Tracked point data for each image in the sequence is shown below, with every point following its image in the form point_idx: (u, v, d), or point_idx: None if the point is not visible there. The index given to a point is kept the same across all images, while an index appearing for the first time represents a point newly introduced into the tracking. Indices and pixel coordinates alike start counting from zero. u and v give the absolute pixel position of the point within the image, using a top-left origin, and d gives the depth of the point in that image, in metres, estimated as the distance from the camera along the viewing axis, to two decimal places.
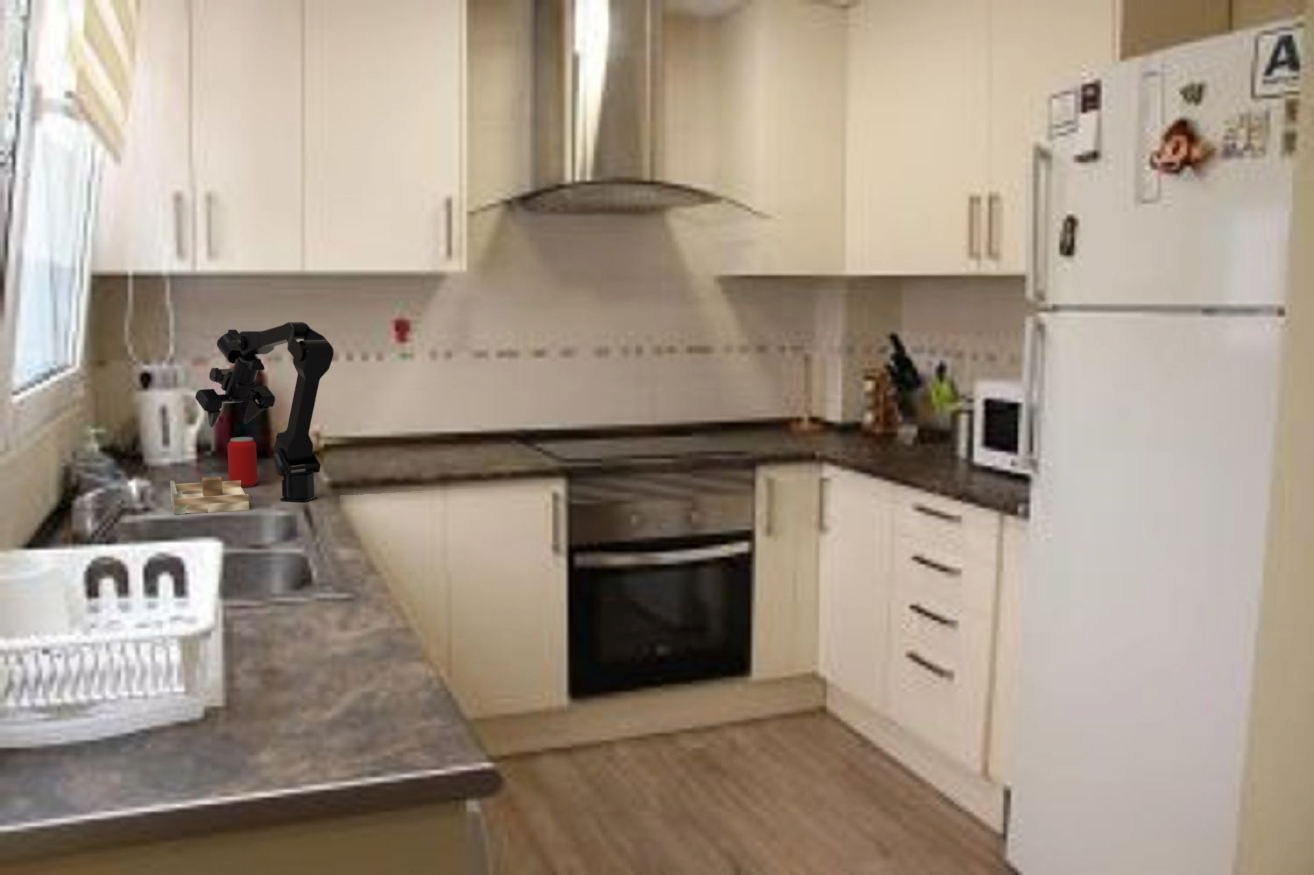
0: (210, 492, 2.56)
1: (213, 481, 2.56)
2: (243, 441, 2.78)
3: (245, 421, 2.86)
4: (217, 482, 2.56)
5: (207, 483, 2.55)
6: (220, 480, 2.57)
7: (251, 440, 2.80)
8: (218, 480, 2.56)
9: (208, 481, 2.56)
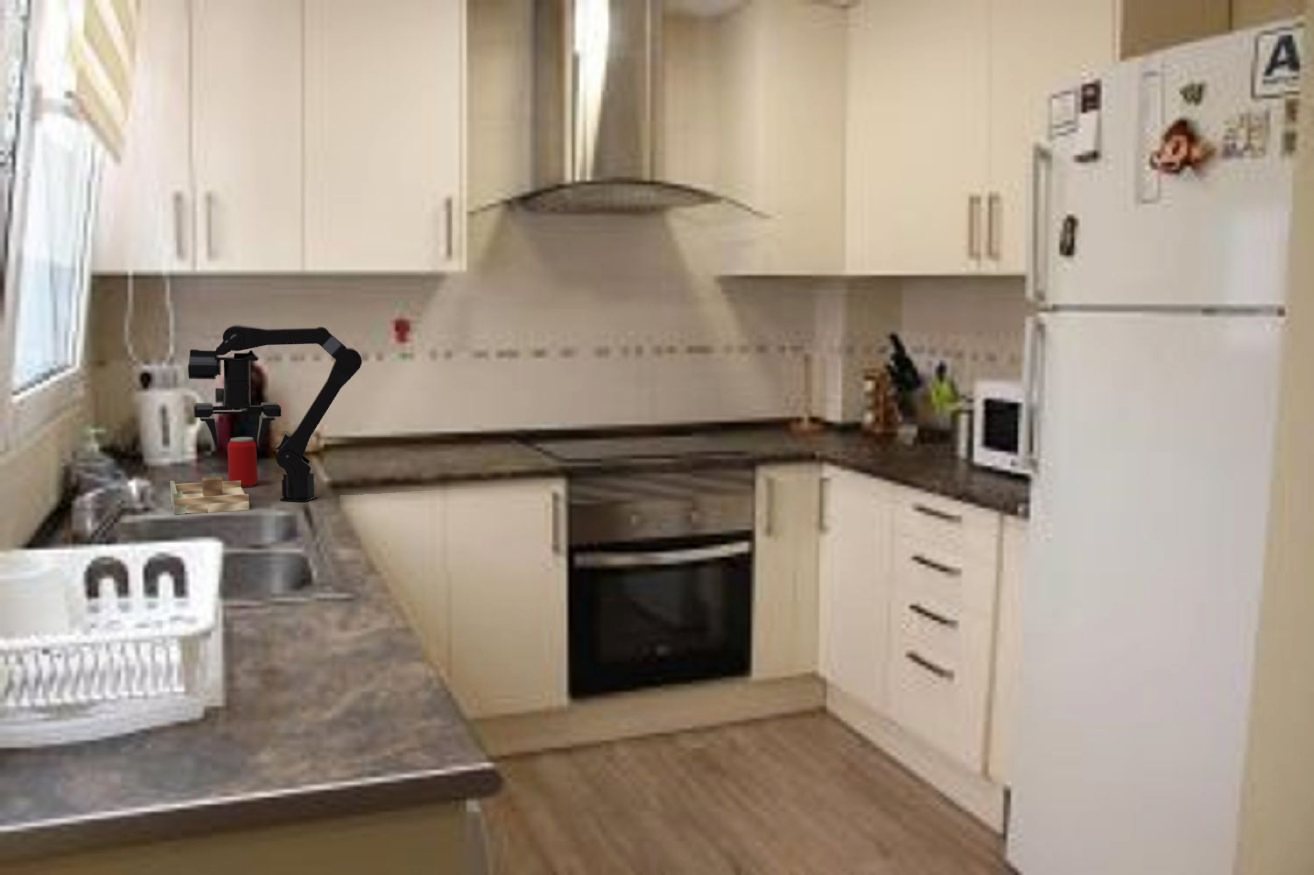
0: (210, 492, 2.56)
1: (213, 481, 2.56)
2: (243, 441, 2.78)
3: None
4: (217, 482, 2.56)
5: (207, 483, 2.55)
6: (220, 480, 2.57)
7: (251, 440, 2.80)
8: (218, 480, 2.56)
9: (208, 481, 2.56)
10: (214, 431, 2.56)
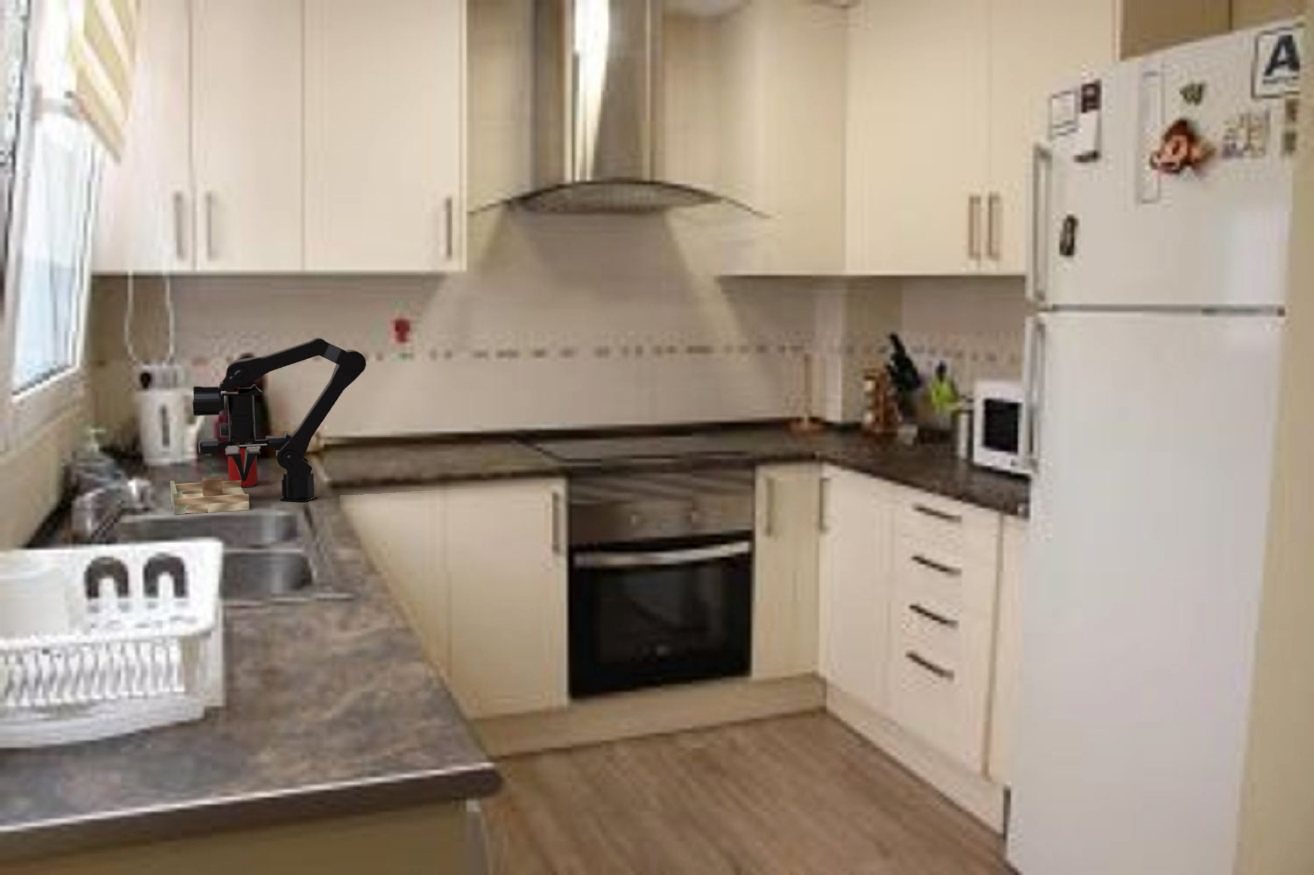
0: (210, 492, 2.56)
1: (213, 481, 2.56)
2: None
3: None
4: (217, 482, 2.56)
5: (207, 483, 2.55)
6: (220, 480, 2.57)
7: None
8: (218, 480, 2.56)
9: (208, 481, 2.56)
10: (240, 466, 2.58)
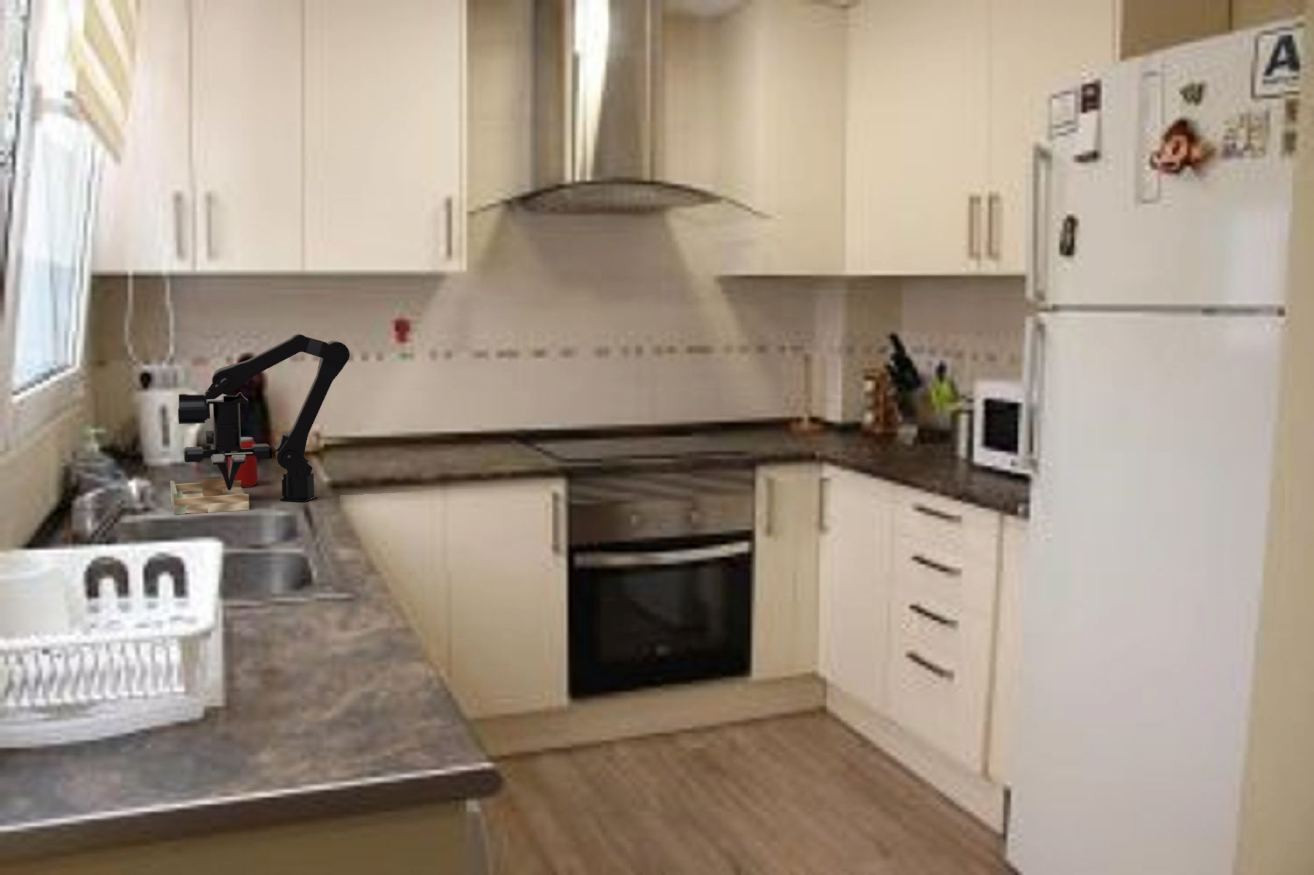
0: (210, 492, 2.56)
1: (213, 481, 2.56)
2: (243, 441, 2.78)
3: None
4: (217, 482, 2.56)
5: (207, 483, 2.55)
6: (220, 480, 2.57)
7: (251, 440, 2.80)
8: (218, 480, 2.56)
9: (207, 481, 2.55)
10: (226, 474, 2.57)
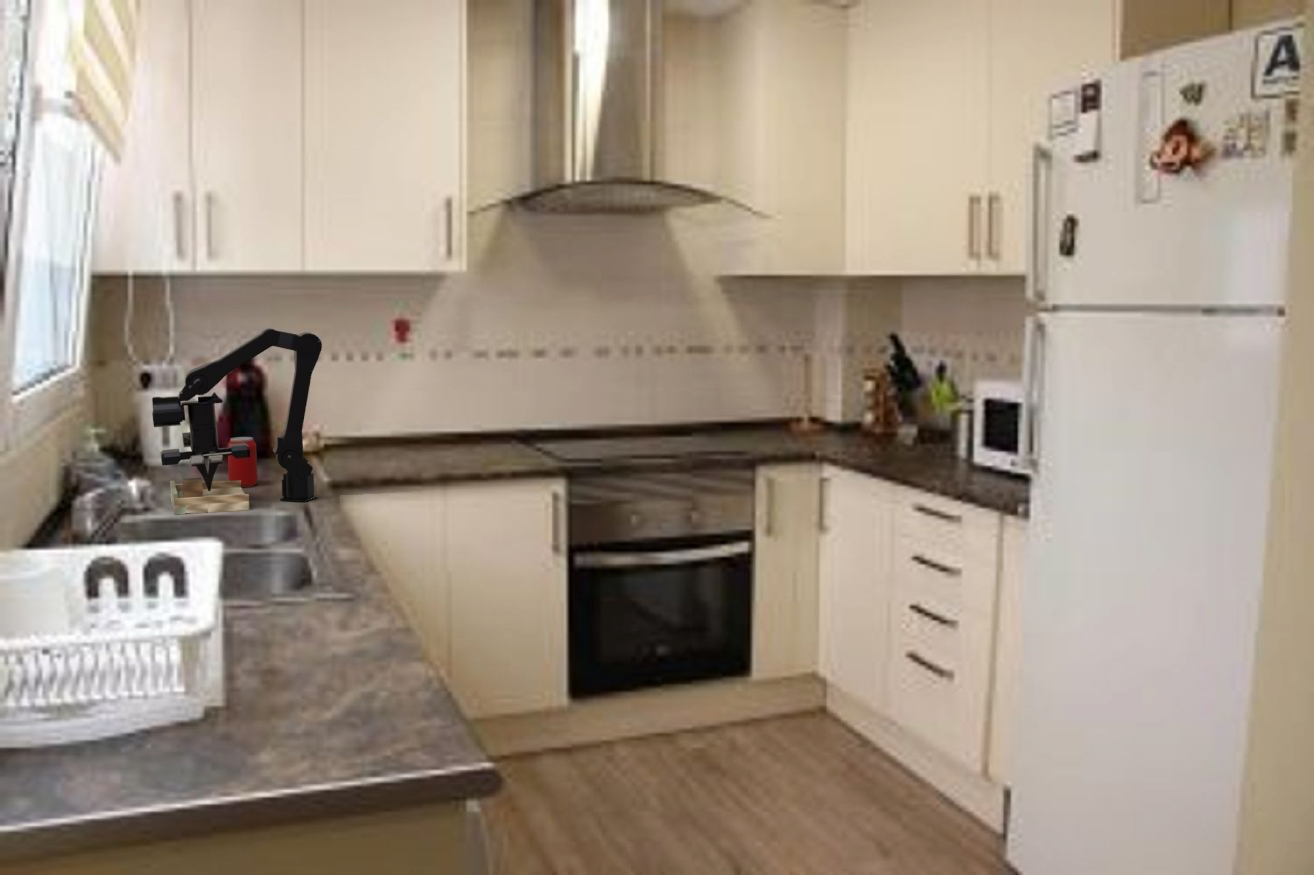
0: (190, 493, 2.54)
1: (193, 482, 2.54)
2: (243, 441, 2.78)
3: (207, 487, 2.57)
4: (197, 483, 2.55)
5: (187, 484, 2.54)
6: (200, 481, 2.55)
7: (251, 440, 2.80)
8: (198, 481, 2.55)
9: (188, 482, 2.54)
10: (206, 475, 2.55)
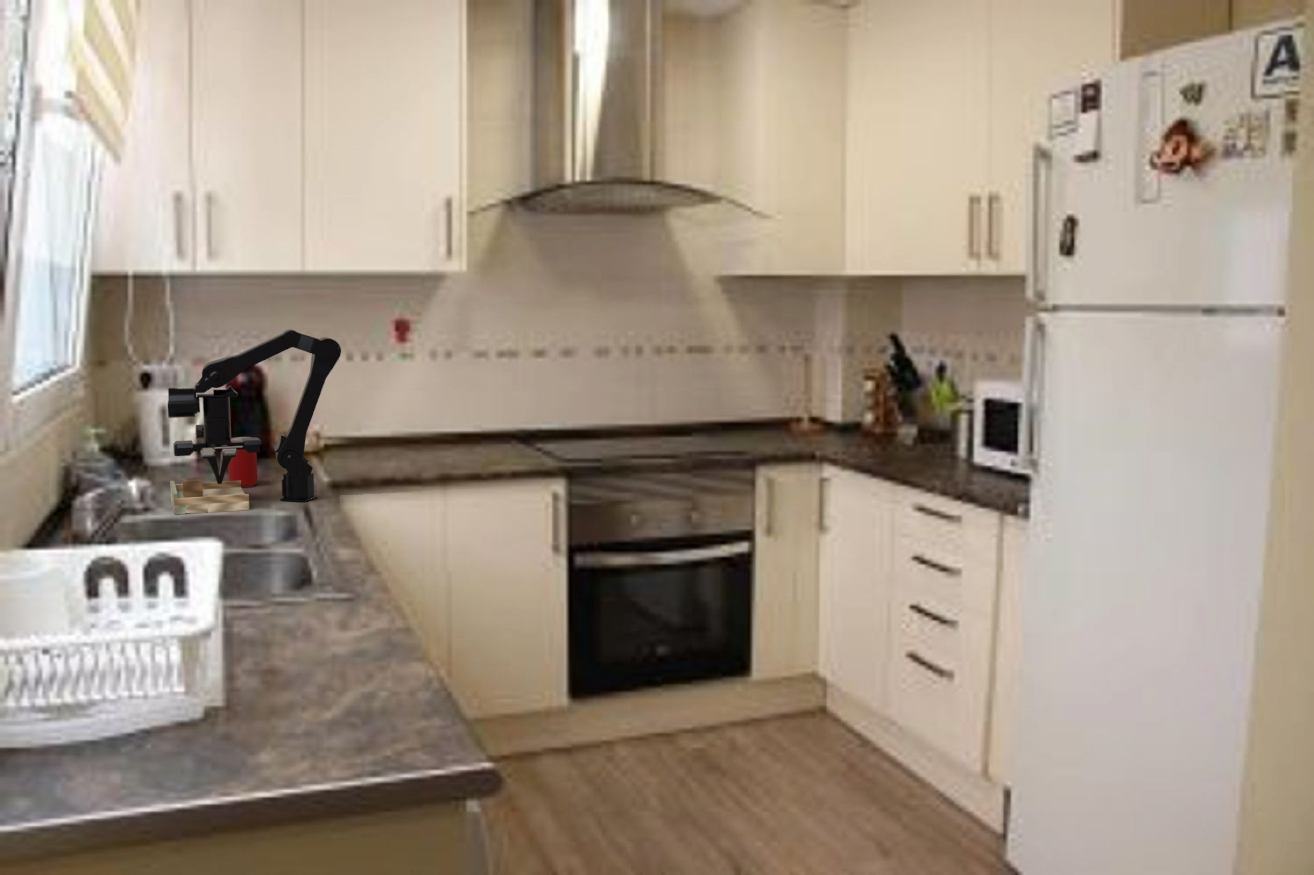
0: (190, 493, 2.54)
1: (193, 482, 2.54)
2: None
3: None
4: (197, 483, 2.55)
5: (187, 484, 2.54)
6: (200, 481, 2.55)
7: None
8: (198, 481, 2.55)
9: (188, 482, 2.54)
10: (216, 468, 2.56)
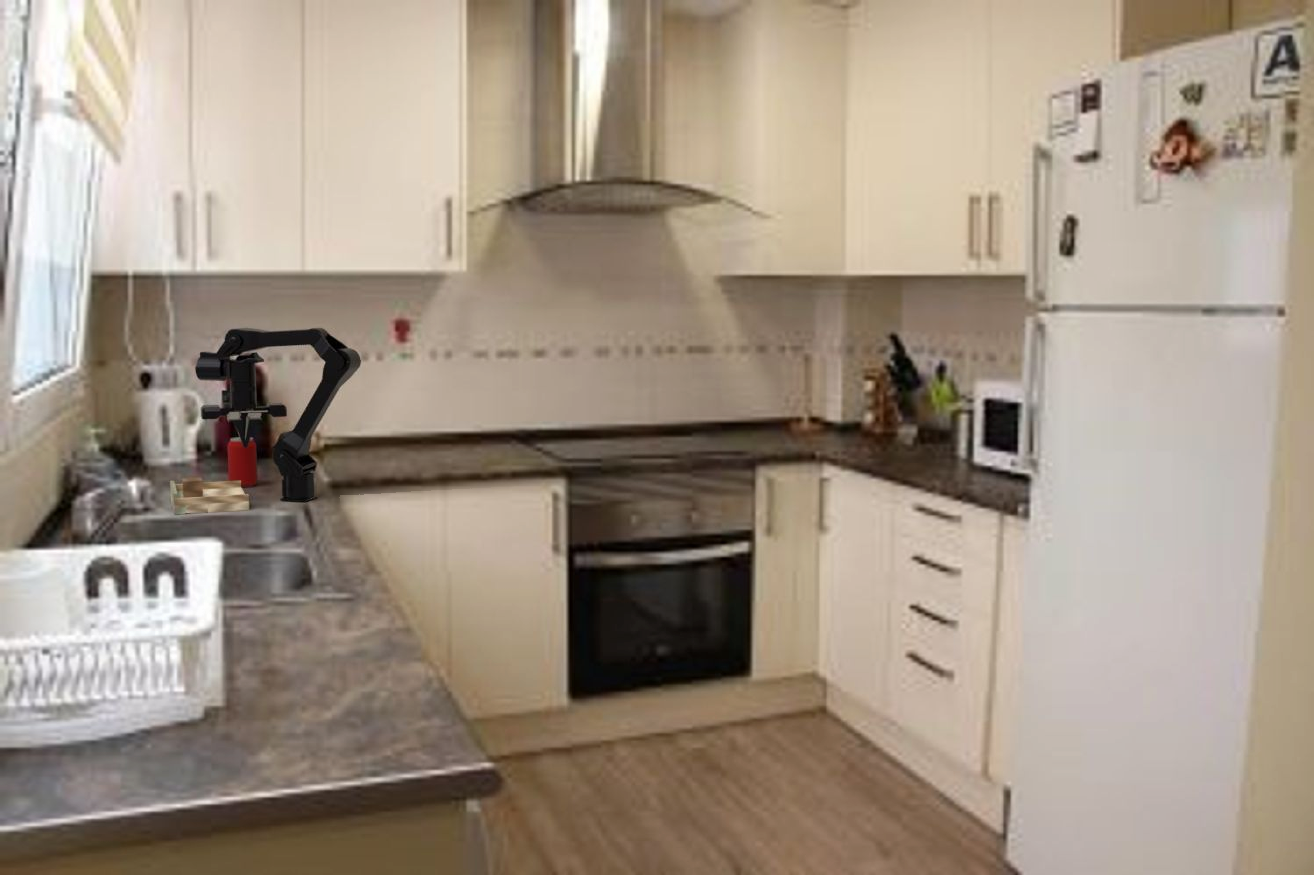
0: (190, 493, 2.54)
1: (193, 482, 2.54)
2: None
3: None
4: (197, 483, 2.55)
5: (187, 484, 2.54)
6: (200, 481, 2.55)
7: (251, 440, 2.80)
8: (198, 481, 2.55)
9: (188, 482, 2.54)
10: (242, 431, 2.63)
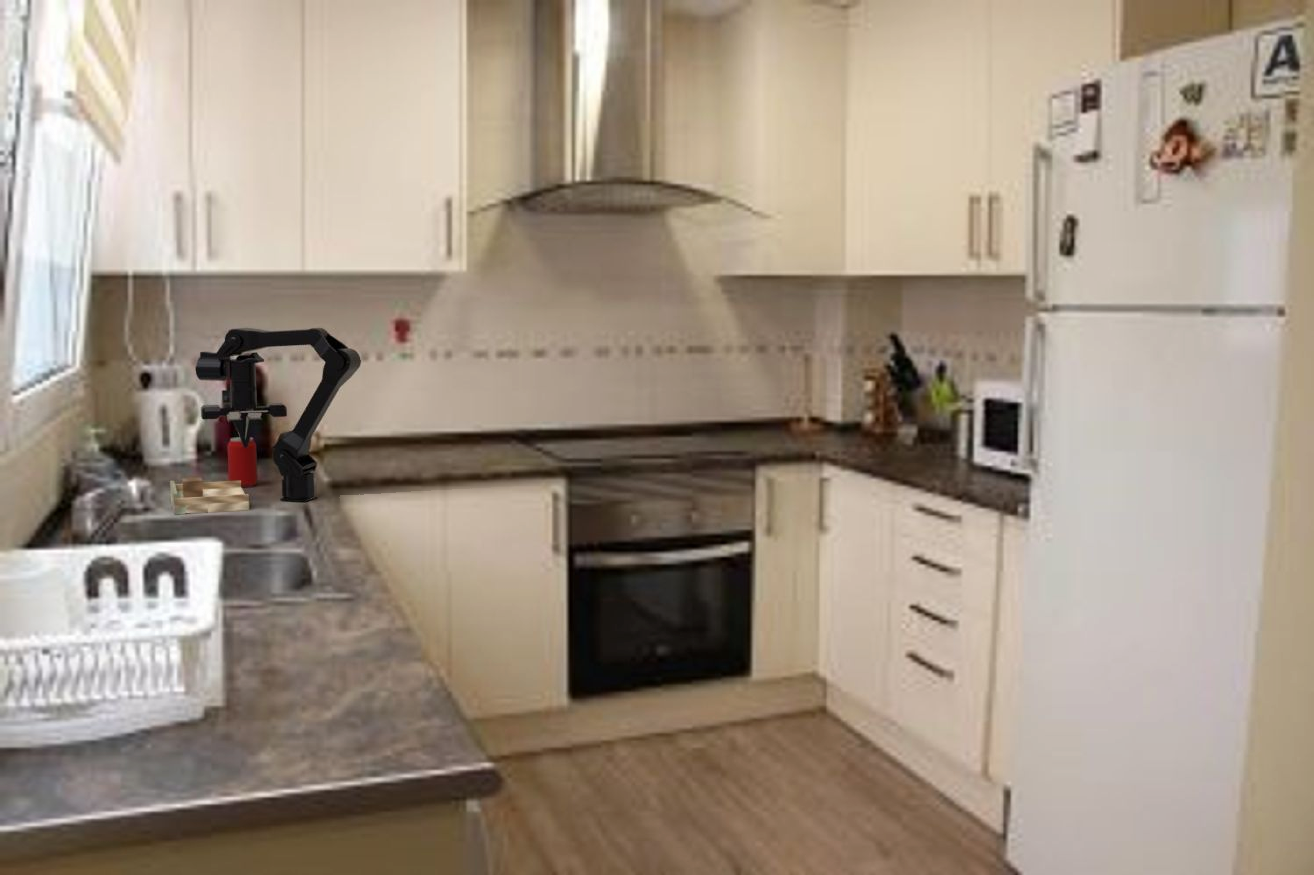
0: (190, 493, 2.54)
1: (193, 482, 2.54)
2: None
3: None
4: (197, 483, 2.55)
5: (187, 484, 2.54)
6: (200, 481, 2.55)
7: (251, 440, 2.80)
8: (198, 481, 2.55)
9: (188, 482, 2.54)
10: (242, 431, 2.63)
